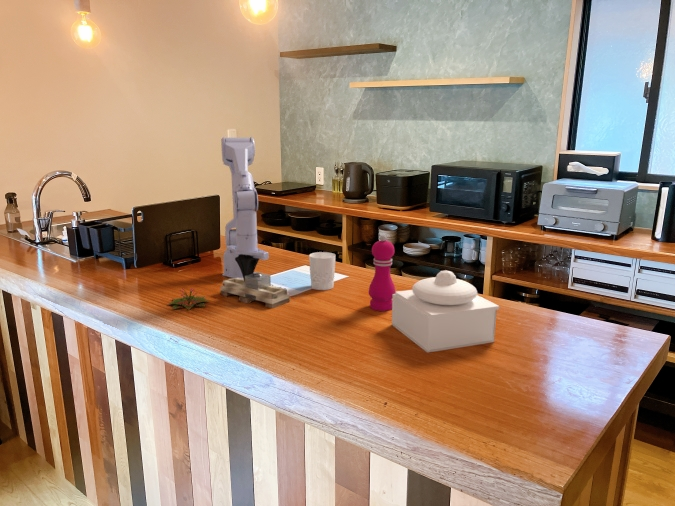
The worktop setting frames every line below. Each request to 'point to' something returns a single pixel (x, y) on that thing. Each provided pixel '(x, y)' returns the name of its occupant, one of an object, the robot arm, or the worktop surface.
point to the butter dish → (444, 314)
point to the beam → (255, 293)
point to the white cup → (322, 270)
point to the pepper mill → (382, 276)
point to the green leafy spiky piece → (188, 301)
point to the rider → (257, 280)
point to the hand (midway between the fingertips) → (248, 280)
